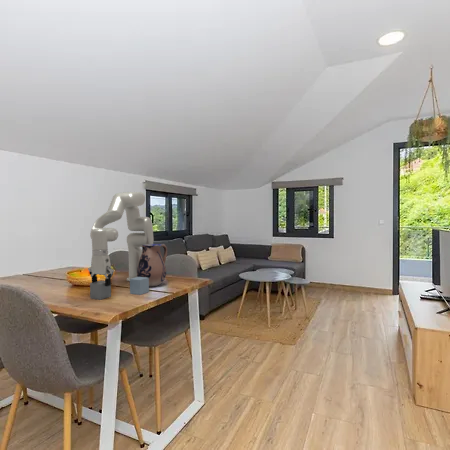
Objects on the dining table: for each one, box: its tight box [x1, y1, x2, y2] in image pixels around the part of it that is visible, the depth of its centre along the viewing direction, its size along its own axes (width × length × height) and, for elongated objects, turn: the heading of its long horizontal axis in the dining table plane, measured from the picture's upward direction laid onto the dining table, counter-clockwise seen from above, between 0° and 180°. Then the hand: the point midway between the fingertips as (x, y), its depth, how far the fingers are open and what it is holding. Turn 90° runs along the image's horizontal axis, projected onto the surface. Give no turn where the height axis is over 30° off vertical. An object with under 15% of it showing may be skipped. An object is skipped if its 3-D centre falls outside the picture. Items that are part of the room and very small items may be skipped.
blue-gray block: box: [129, 277, 150, 296], centre depth 171 cm, size 7×7×8 cm
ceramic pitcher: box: [137, 243, 168, 287], centre depth 191 cm, size 18×21×25 cm
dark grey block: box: [89, 280, 112, 301], centre depth 162 cm, size 7×7×8 cm
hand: (101, 284), depth 162 cm, fingers open, 9 cm apart
